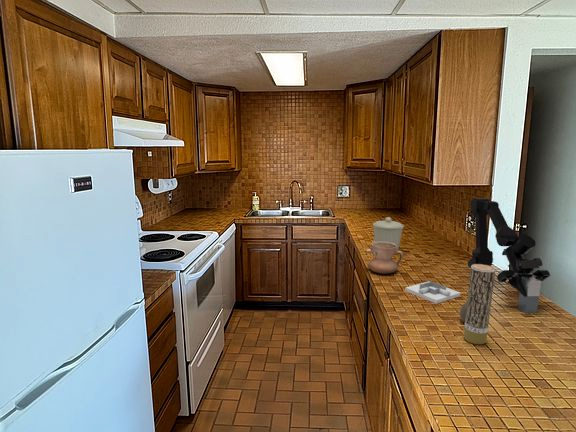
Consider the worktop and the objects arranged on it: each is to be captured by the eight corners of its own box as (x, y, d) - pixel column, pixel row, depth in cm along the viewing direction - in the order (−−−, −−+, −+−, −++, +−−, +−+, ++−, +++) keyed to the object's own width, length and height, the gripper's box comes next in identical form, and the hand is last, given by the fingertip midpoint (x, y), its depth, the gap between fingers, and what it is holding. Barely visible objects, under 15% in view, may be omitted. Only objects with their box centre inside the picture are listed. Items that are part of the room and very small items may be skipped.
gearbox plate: (428, 284, 175) (429, 277, 175) (460, 296, 162) (461, 288, 161) (405, 290, 167) (405, 283, 166) (436, 303, 154) (436, 295, 153)
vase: (468, 328, 133) (470, 304, 132) (454, 319, 140) (457, 297, 138) (484, 326, 135) (487, 302, 133) (470, 317, 142) (472, 295, 140)
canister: (405, 256, 221) (408, 220, 217) (374, 255, 221) (376, 219, 217) (397, 247, 238) (399, 214, 235) (368, 247, 239) (370, 214, 235)
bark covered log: (466, 333, 130) (474, 262, 125) (488, 339, 125) (497, 267, 121) (460, 340, 124) (468, 267, 120) (483, 347, 120) (492, 272, 116)
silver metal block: (517, 308, 150) (521, 277, 148) (528, 308, 151) (532, 276, 148) (525, 313, 146) (530, 281, 144) (536, 313, 146) (541, 281, 144)
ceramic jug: (366, 275, 187) (367, 247, 184) (364, 266, 201) (366, 239, 198) (403, 277, 184) (406, 249, 182) (399, 268, 198) (401, 241, 196)
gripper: (505, 250, 147) (520, 287, 138) (550, 250, 149) (568, 287, 140) (490, 263, 156) (504, 299, 148) (533, 263, 158) (549, 298, 149)
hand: (531, 296), depth 146 cm, fingers closed on silver metal block, 5 cm apart
